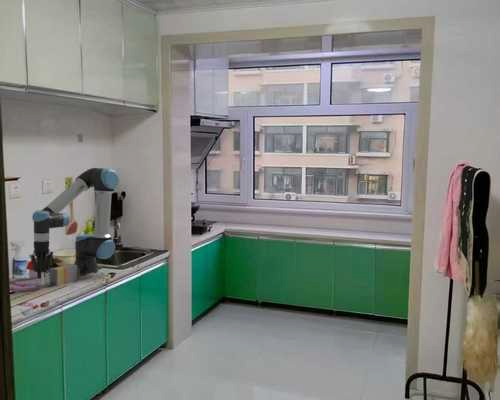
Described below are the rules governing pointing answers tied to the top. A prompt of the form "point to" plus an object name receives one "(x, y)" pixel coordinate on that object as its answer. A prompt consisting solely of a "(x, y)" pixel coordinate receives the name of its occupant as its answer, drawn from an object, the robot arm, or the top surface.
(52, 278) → the bookend
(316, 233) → the top surface
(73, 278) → the book slate
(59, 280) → the book ochre
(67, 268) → the book terracotta
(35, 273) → the mushroom
